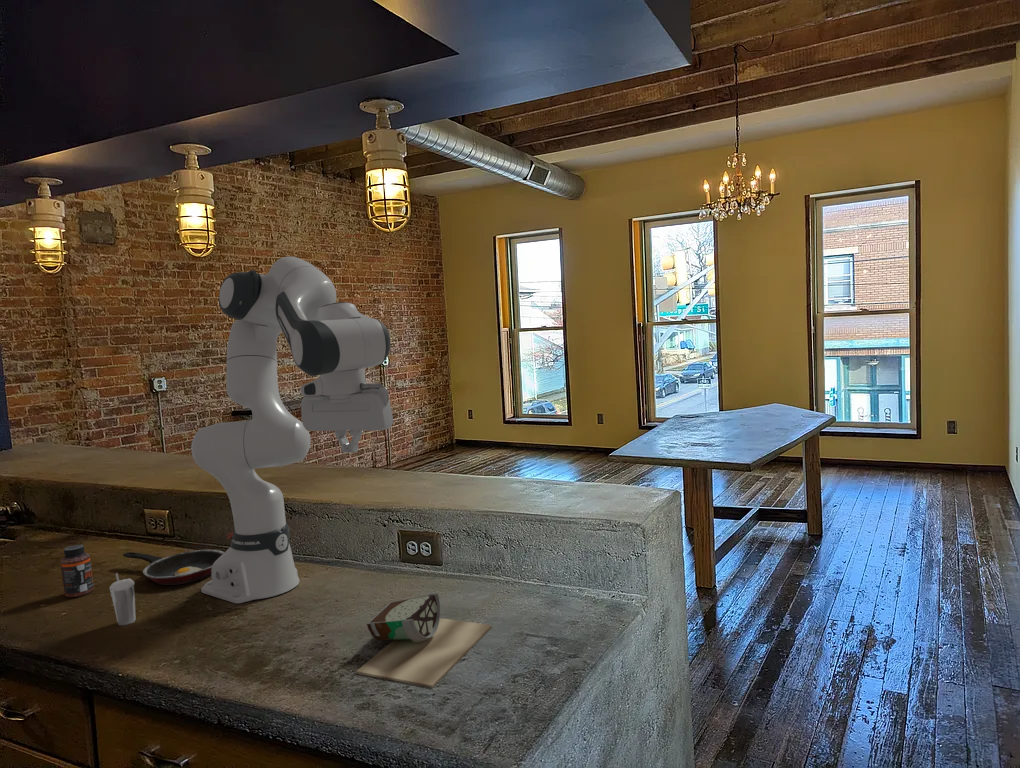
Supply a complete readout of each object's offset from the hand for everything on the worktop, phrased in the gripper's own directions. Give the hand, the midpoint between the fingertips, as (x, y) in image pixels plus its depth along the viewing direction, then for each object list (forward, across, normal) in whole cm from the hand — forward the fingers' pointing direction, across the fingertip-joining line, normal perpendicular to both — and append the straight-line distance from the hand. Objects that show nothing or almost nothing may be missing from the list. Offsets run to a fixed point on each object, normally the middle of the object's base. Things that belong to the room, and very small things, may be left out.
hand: (350, 452), depth 139 cm
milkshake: (+33, +48, +19) cm, 61 cm away
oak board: (+34, -22, +11) cm, 41 cm away
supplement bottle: (+33, +74, +11) cm, 82 cm away
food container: (+32, -11, +10) cm, 35 cm away
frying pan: (+33, +65, -6) cm, 73 cm away
